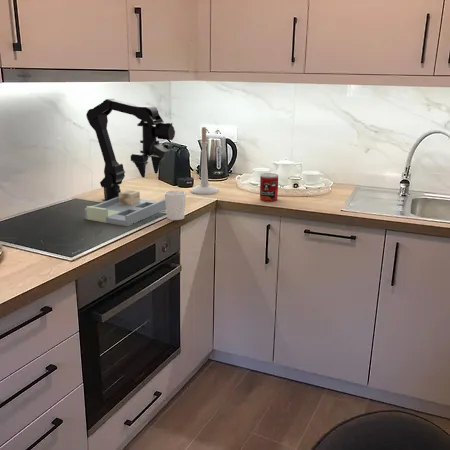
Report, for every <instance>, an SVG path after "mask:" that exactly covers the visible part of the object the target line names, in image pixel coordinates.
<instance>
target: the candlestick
mask: <svg viewBox="0 0 450 450" xmlns="http://www.w3.org/2000/svg"><path fill="white" fill-rule="evenodd" d="M199 143H200V145H201V148H202V149H201V165H200V166H201V168H200V170H201V171H200V184H199V185H197V186H193V187H191V189H190V193H192V194H194V195H199V196H200V195H201V196H206V195H207V196H208V195H209V196H211V195H216V194H217V193H219V189H218V188H217V187H216V186H213V185H209V175H208V173H209V172H208V156H207V155H208V154H207V146H208V143H209V142H208V141H207V127H206V126H202V127H201V141H200V142H199Z"/></svg>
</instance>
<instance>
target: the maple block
mask: <svg viewBox="0 0 450 450" xmlns="http://www.w3.org/2000/svg"><path fill="white" fill-rule="evenodd" d="M140 195H141V194H140V191H138V190H131V189H126V190H124V191H121V192H120V193H119V204H125V205H134V204H136V203H139V202H140V199H141V196H140Z"/></svg>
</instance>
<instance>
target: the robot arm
mask: <svg viewBox="0 0 450 450" xmlns="http://www.w3.org/2000/svg"><path fill="white" fill-rule="evenodd" d="M157 108H158V107H156V106H154V105H137V104H134V103H133V104H132V103H129V102H125V101H122V100H116V99H115V98H106V99H104V100H103V101H102V102H101V103H99V104H98V105H96V106H95V107H93V108H90V109H87V112H86V114H85V116H86V119H87V121H88V123H89V126H91V128H92V129H93V130H94V132H95V135H96V139H97V141H98V144H99V148H100V151H101V154H102V155H101V156H102V158H103V161H104V169H103V174H104V177H103V178H102V180H101V181H100V182H99V184H100V187H101V188H103V194H104V195H103V196H104V197H103V198H102V199H101V200H102V201H108V200H111V199H113V198H116V197H119V193H120V192H122V191H121V188H120V185H122V183H123V180H124V178H125V173H126V171H125V169H124V164H123V163H119V162H118V161H117V159H116V156H115V152H114V148H113V144H112V141H111V138H110V135H109V132H108V129H107V128H108V122H109V121H108V120H109V119H108V116H109V115H110V114H112V112H113V111H114V112H115V111H116V112H119V113H120V112H121V113H124V114H127V115H132V116H134V117H135V118H136V119H138V120H140V121H139V122H138V123H137V124H136V126H137V127H141V135H142V138H141V140H140V141H139V142H140V144H141V145H142V146H141V147H142V149H140V150H139V151H140V152H134V153H132V154H131V155H130V161H131V162H132V163H134V165H135V166H136V168H137V170H138V171H139V174H140V176H141V178H146V167H147V166H146V165H148V164H149V161H148V160H149V158H151V162H152V167H153V172H154V174H158V173H159V172H158V171H159V169H160V166H161V163H162V161H163V160H164V159H166V158H168V156H169V154H171V145H170V144H169V143H167V144H164V145H161V144H160V141H159V140H166V141H172V140H174V138H175V135H176V130H175V128H174V126H173V122H165V121H164V120H163V117H162V116H161V115H160V113H159V110H158V109H157Z"/></svg>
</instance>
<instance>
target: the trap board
mask: <svg viewBox="0 0 450 450" xmlns="http://www.w3.org/2000/svg"><path fill="white" fill-rule="evenodd" d="M162 211H166V205H165V198H163V199H161V200H158V201H157V200H151V199H149V200H148V199H144V198H140V202H139V203H136V204H134V205H125V204H119V197H116V198H113V199H111V200H108V201H106V200H104V201H102V202H100V203H98V204H94V205H87V206H86V208H84V218H85V220H89V221H94V222H95V221H96V222H101V223H106V224H112V225H117V226H125V227H130V226H132V225H134V224H136V223H139V222H140V220H141V221H143V220H145V219H147V218H149V217H152V216H153V215H156V214H158V213H160V212H162ZM142 219H143V220H142ZM138 221H139V222H138ZM133 223H134V224H133Z"/></svg>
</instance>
